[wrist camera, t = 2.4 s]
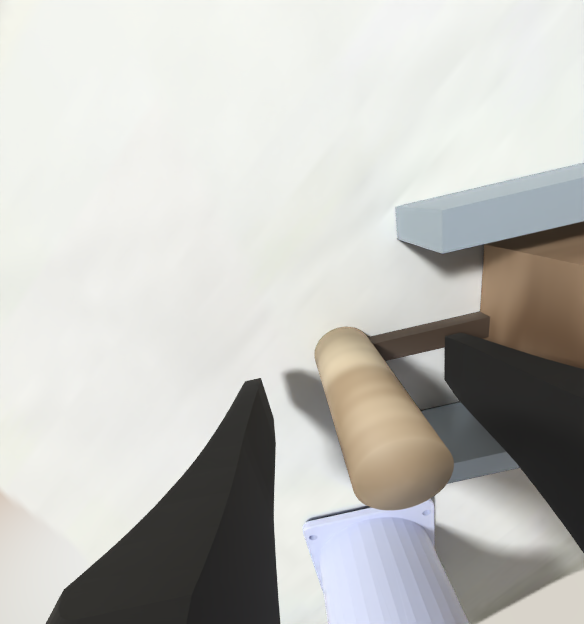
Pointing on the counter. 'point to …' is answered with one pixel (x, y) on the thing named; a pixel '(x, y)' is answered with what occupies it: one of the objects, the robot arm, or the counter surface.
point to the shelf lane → (476, 231)
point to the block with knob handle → (485, 324)
